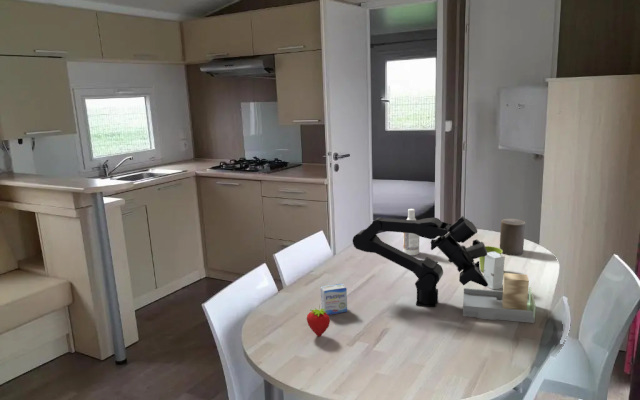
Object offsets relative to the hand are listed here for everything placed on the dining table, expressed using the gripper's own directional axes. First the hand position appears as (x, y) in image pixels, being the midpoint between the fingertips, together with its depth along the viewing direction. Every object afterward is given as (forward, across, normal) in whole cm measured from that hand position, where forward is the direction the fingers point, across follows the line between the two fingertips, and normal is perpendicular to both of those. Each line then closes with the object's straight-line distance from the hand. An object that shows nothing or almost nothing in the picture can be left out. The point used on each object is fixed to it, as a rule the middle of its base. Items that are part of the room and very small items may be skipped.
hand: (487, 285), depth 155 cm
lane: (+8, 0, +3) cm, 9 cm away
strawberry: (-28, -29, +41) cm, 57 cm away
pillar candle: (+15, +60, -3) cm, 62 cm away
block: (+10, 0, -2) cm, 10 cm away
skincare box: (+8, +20, +4) cm, 22 cm away
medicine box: (-27, -12, +41) cm, 50 cm away
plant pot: (+8, +35, +4) cm, 36 cm away
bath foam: (-14, +50, +28) cm, 59 cm away
